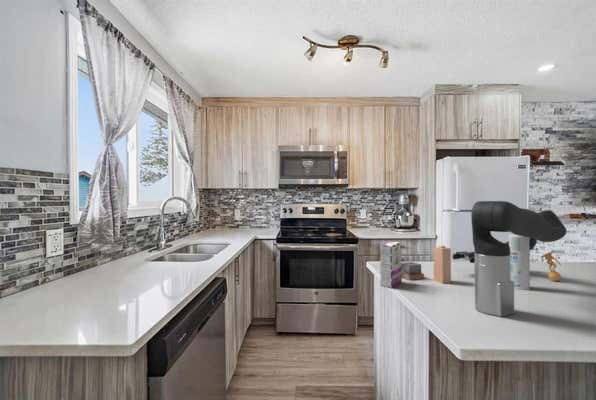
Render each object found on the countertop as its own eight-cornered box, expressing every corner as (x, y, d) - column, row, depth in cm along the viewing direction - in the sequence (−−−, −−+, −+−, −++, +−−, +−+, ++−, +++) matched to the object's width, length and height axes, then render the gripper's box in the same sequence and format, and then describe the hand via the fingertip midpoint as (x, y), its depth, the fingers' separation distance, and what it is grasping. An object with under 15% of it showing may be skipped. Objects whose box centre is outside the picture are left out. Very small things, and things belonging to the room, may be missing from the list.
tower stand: (424, 278, 132) (423, 264, 132) (409, 280, 129) (409, 266, 129) (410, 274, 140) (410, 261, 140) (396, 276, 137) (396, 262, 137)
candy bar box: (390, 280, 129) (389, 241, 129) (401, 282, 126) (401, 242, 126) (379, 286, 120) (379, 244, 120) (392, 288, 117) (391, 245, 117)
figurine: (568, 283, 123) (568, 253, 123) (555, 284, 122) (554, 253, 122) (549, 278, 131) (549, 250, 131) (536, 278, 130) (536, 250, 130)
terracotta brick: (450, 282, 125) (450, 246, 126) (442, 283, 124) (442, 246, 124) (442, 279, 130) (441, 244, 130) (433, 280, 128) (433, 245, 128)
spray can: (534, 289, 114) (534, 236, 114) (517, 290, 114) (516, 236, 114) (521, 285, 121) (521, 234, 121) (505, 285, 121) (504, 234, 121)
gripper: (473, 244, 144) (447, 247, 138) (503, 249, 130) (476, 252, 125) (474, 260, 144) (448, 264, 138) (504, 266, 130) (476, 270, 125)
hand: (461, 258), depth 131 cm, fingers open, 8 cm apart
